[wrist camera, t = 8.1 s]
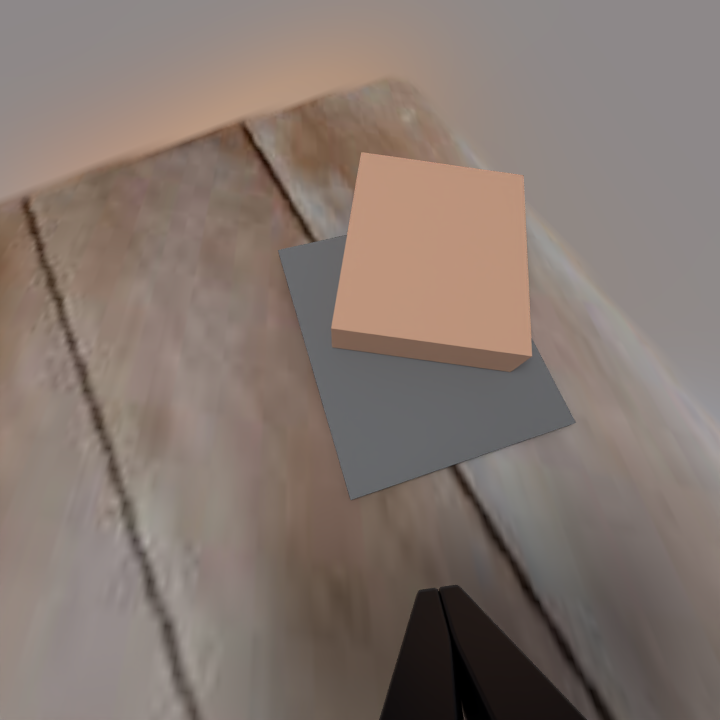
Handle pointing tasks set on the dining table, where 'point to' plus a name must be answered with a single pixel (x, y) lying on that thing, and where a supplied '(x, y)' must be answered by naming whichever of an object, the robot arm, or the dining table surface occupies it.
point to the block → (435, 265)
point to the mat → (409, 392)
